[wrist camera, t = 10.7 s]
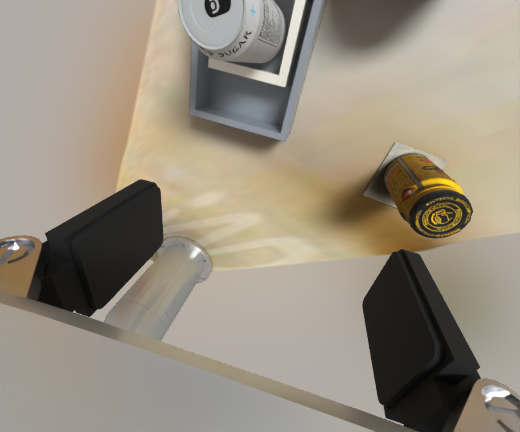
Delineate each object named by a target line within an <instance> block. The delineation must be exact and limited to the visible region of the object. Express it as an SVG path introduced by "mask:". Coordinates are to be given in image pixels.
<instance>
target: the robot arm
mask: <svg viewBox="0 0 520 432" xmlns="http://www.w3.org/2000/svg"><path fill="white" fill-rule="evenodd" d="M45 235H46V237H47V241H46V242H44V243H42V242H41V241H40V240H39V239H38V238H35V237H32V236H13V237H7V238H3V239H0V432H520V395H518V394H517V393H516V392H514V391H513V390H512V389H510V388H509V387H507V386H506V385H504V384H502V383H500V382H498V381H495V380H492V379H487V378H483V379H481V378H480V376H479V374H478V372H477V369H479V368H480V366H479V364H478V363H477V360H476V358H475V357H474V355H473V353H472V351H471V349H470V347H469V345H468V344H467V342H466V340H465V338H464V336H463V334H462V332H461V330H460V329H459V327H458V325H457V323H456V321H455V320H454V318H453V316H452V314H451V312H450V310H449V308H448V306H447V304H446V303H445V301H444V299H443V297H442V295H441V293H440V291H439V290H438V288H437V286H436V284H435V282H434V280H433V279H432V276H431V275H430V273H429V271H428V269H427V267H426V266H425V264H424V262H423V260H422V258H421V256H420V255H419V254H417V253H414V252H410V251H406V250H403V249H401V250H399V251H398V252H393V253H392V254H391V256H390V258H389V259H388V261H387V262H386V264H385V266H384V267H383V269H382V270H381V272H380V274H379V275H378V277H377V278H376V280H375V282H374V283H373V285H372V286H371V288H370V290H369V291H368V293H367V295H366V296H365V298H364V300H363V313H364V319H365V325H366V331H367V337H368V342H369V349H370V354H371V360H372V366H373V372H374V378H375V384H376V390H377V396H378V400H379V402H380V404H382V405H384V410H385V416H386V418H388V419H390V420H393V421H396V422H399V423H402V424H404V426H402V425H399V424H396V423H394V422H391V421H388V420H385V419H382V418H380V417H377V416H374V415H372V414H369V413H366V412H364V411H361V410H358V409H355V408H352V407H349V406H346V405H344V404H341V403H338V402H335V401H332V400H329V399H326V398H323V397H320V396H318V395H314V394H312V393H309V392H306V391H303V390H300V389H297V388H295V387H292V386H289V385H286V384H283V383H280V382H277V381H274V380H272V379H269V378H266V377H263V376H260V375H257V374H254V373H251V372H248V371H245V370H242V369H239V368H236V367H234V366H231V365H228V364H225V363H222V362H219V361H216V360H213V359H210V358H207V357H204V356H201V355H198V354H195V353H193V352H189V351H187V350H183V349H181V348H178V347H175V346H172V345H169V344H166V343H163V342H161V340H162V338H163V337H164V335H165V333H166V332H167V330H168V329H169V327H170V325H171V324H172V322H173V320H174V319H175V317H176V315H177V314H178V312H179V311H180V309H181V307H182V306H183V304H184V302H185V301H186V299H187V298H188V296H189V294H190V293H191V291H192V289H193V288H194V286H195V285H196V283H201V282H203V281H205V280H206V279H207V278H208V277H209V275H210V273H211V271H212V263H211V260H210V258H209V256H208V254H207V253H206V252H205V250H204V249H203V248H202V247H200V246H199V245H198V244H196V243H195V242H193V241H191V240H189V239H186V238H182V237H170V238H167V239H165V240H164V241H163V224H162V207H161V191H160V188H159V187H157V185H156V183H154V182H150V181H146V180H142V179H140V180H138V181H136V182H134V183H133V184H131V185H129V186H127V187H126V188H124V189H122V190H120V191H119V192H117V193H115V194H113V195H112V196H110V197H108V198H106V199H105V200H103V201H101V202H99V203H98V204H96V205H94V206H92V207H90V208H89V209H87V210H85V211H83V212H82V213H80V214H78V215H77V216H75V217H73V218H71V219H69V220H68V221H66V222H64V223H62V224H61V225H59V226H57V227H55V228H54V229H52V230H50V231H48V232H47V233H45ZM156 251H157V256H158V258H157V259H156V260H155V262H154V263H153V264H152V265H151V266H150V267H149V268H148V269H147V270H146V272H145V273H144V274H143V275H142V276H141V277H140V278H139V279H138V280H137V281H136V283H135V284H134V285H133V286H132V287H131V288H130V289H129V290H128V291H127V293H126V294H125V295H124V296H123V297H122V298H121V299H120V301H119V302H118V303H117V304H116V305H115V306H114V307H113V308H112V309H111V310H110V312H109V313H108V315H107V316H106V318H105V321H104V323H103V322H100V321H97V320H94V319H92V318H89V317H90V316H91V315H92V314H93V313H94V312H95V311H96V310H97V309H101V308H103V307H104V306H105V305H106V304H107V303H108V302H109V301H110V300H111V299H112V298H113V297H114V296H115V295H116V294H117V292H118V291H119V290H120V289H121V288H122V287H123V286H124V285H125V284H126V283H127V282H128V281H129V280H130V279H131V278H132V277H133V275H134V274H135V273H136V272H137V271H138V270H139V269H140V268H141V267H142V266H143V265H144V264H145V263H146V262H147V261H148V260H149V259H150V258H151V257H152V256H153V254H154V253H155V252H156ZM74 310H75V311H76V312H77V313H79V314H82V315H79V314H76V313H73V311H74ZM83 315H85V316H83ZM86 316H88V317H86Z"/></svg>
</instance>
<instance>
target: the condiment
mask: <svg viewBox="0 0 520 432" xmlns="http://www.w3.org/2000/svg"><path fill="white" fill-rule="evenodd" d="M447 163H449V161H446V160H444V159H441V158H439V157H436V156H433V155H431V154H428V153H425V152H423V151H420V150H417V149H415V148H412V147H409V146H406V145H404V144H401V143H398V142H396V143H395V144H394V146H393V147H392V149H391V151H390V152H389V154H388V155H387V157H386V158H385V160H384V161H383V163H382V165H381V166H380V168H379V170H378V171H377V173H376V175H375V176H374V178H373V179H372V181H371V182H370V184H369V186H368V187H367V189H366V191H365V192H364V194H363V196H366V197H369V198H371V199H374V200H377V201H380V202H382V203H385V204H387V205H390V206H392V207H395V208H397V209H398V211H399V213H400V215H401V216H402V218H403V219H404V220H405V221H407V222H408V223H409V224H410V226H411V227H412V228H413V230H415V231H416V232H417V233H419V234H420V235H423V236H425V237H429V238H443V237H448V236H451V235H453V234H455V233H457V232H459V231H460V230H462V229H463V228H464V227H465V226H466V225H467V224H468V223H469V221H470V220H471V215H472V213H473V209H472V206H471V204H470V202H469V200H468V199H467V198H466V197H465V196H464V195H463V191H462V189H461V188H460V186H459V185H458V184H457V183H456V182H455V181H454V180H452V179H451V178H450V177H449V176H448V175H447V174H446V173H444V171H443V170H442V169H443V168H444V167H445V166H446V165H447Z"/></svg>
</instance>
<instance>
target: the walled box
mask: <svg viewBox="0 0 520 432" xmlns="http://www.w3.org/2000/svg"><path fill="white" fill-rule="evenodd" d="M274 2H275V3H276V4H277V5H278V7H279V8H280V10H281V11H282V14H283V16H284V19H285V23H286V36H285V41H284V44H283V46H282V49H281V50H280V52H279V53H278V54H277V55H276V57H275V58H273V59H272V60H271V61H268V62H266V63H247V62H234V61H221V60H216V59H212V58H210V57H208V56H207V55H205V54H204V53H202V52H201V51H200V50H199V49H198V48H197V47H196V45H195V44H194V43H193V41H192V50H191V77H190V104H189V115H192V116H196V117H199V118H203V119H207V120H210V121H214V122H217V123H221V124H224V125H228V126H231V127H235V128H239V129H242V130H246V131H249V132H253V133H256V134H260V135H264V136H267V137H271V138H274V139H278V140H281V141H286V139H287V138H288V136H289V134H290V132H291V128H292V125H293V121H294V117H295V114H296V110H297V106H298V103H299V99H300V95H301V92H302V88H303V84H304V80H305V77H306V73H307V69H308V66H309V62H310V58H311V55H312V51H313V47H314V44H315V40H316V36H317V33H318V29H319V25H320V22H321V18H322V14H323V11H324V7H325V3H326V0H274Z"/></svg>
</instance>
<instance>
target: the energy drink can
mask: <svg viewBox="0 0 520 432" xmlns="http://www.w3.org/2000/svg"><path fill="white" fill-rule="evenodd" d="M178 11H179V15H180V19H181V21H182V24H183V26H184V28H185V30H186V32H187V34H188V35H189V36H190V38H191V39H192V41H193V43H194V44H195V45H196V47H197V48H198V49H199V50H200V51H201V52H202V53H204V54H205V55H207V56H208V57H210V58H212V59H216V60H221V61H234V62H247V63H266V62H268V61H271V60H272V59H273V58H275V57H276V55H277V54H278V53H279V52H280V50H281V49H282V46H283V44H284V41H285V36H286V23H285V19H284V16H283V14H282V11H281V10H280V8H279V7H278V5H277V4H276V3H275V2H274V0H178Z"/></svg>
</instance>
